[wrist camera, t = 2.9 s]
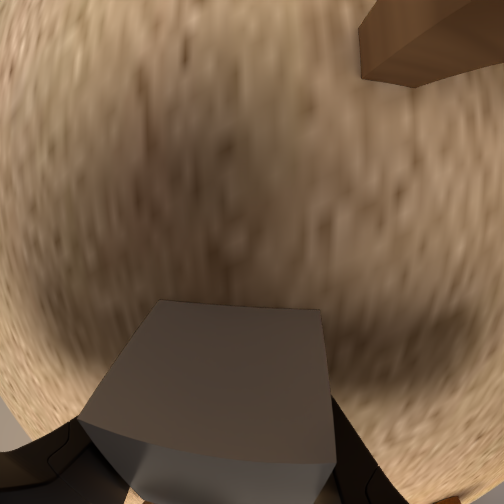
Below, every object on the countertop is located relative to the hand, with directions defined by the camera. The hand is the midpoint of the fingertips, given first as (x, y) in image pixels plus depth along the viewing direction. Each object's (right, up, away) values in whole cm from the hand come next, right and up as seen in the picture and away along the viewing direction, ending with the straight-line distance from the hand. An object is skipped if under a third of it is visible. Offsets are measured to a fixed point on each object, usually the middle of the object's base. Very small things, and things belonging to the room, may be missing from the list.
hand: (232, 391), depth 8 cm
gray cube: (0, 0, +1) cm, 1 cm away
